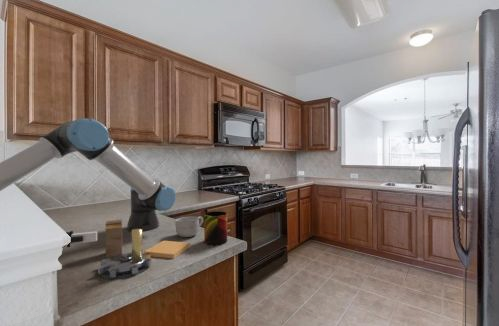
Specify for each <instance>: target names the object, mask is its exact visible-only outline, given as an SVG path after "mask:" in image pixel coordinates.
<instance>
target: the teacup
mask: <svg viewBox="0 0 499 326" xmlns="http://www.w3.org/2000/svg"><path fill="white" fill-rule="evenodd" d="M174 223H175V232H176V234H177V235H178V236H179V237H181V238H189V237H190V238H191V237H194V236H196V235H197V233H198V232H199V231H200V230H199V229H200V227H201V226H202V225H203V223H204V218H203V216H191V215H190V216H183V217H179V218H176V219H175V220H174Z"/></svg>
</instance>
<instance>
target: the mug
mask: <svg viewBox="0 0 499 326" xmlns="http://www.w3.org/2000/svg"><path fill="white" fill-rule="evenodd" d="M203 223H204V227H203V228H204V229H203V230H204V236H203V237H204V242H205V243H204V244H205V245H206V244H207V245H206V246H210V245H213V246H215V247H216V245H218V246H222V244H223V245H225V244H227V243H226V242H228V213H227V212H226V211H221V210H220V211H207V212H205V213H204V218H203Z"/></svg>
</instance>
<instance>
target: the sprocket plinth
mask: <svg viewBox="0 0 499 326" xmlns="http://www.w3.org/2000/svg"><path fill="white" fill-rule="evenodd" d="M150 267H151V265H150V266H149V267H143V268H141V269H140V270H138V273H135V274H131V273H128V274H123V275H118V276H117V277H110V275H109V274H106V273H104V274H101V275H99V276H100V277H101V278H103V279H107V280H121V279H126V278H131V277H134V276H137V275H139V274H141V273H144V272H145V271H147V270H148V269H149V268H150Z"/></svg>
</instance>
